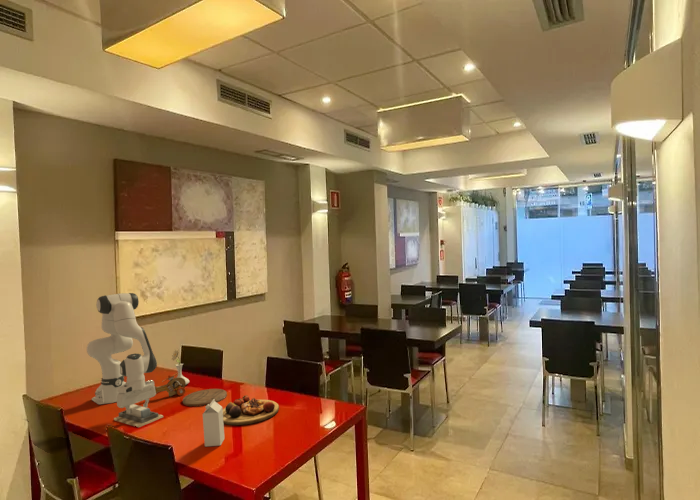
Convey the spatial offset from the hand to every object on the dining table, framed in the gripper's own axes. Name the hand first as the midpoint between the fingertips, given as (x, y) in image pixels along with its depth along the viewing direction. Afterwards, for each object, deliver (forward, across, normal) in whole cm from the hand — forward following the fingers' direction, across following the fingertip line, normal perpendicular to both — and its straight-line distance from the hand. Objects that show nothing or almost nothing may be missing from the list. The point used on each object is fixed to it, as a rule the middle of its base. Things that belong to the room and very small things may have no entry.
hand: (137, 410), depth 231 cm
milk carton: (+5, +2, +63) cm, 63 cm away
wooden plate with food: (+5, -30, +52) cm, 60 cm away
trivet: (+5, -36, +10) cm, 38 cm away
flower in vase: (+5, -46, -27) cm, 54 cm away
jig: (+5, 0, 0) cm, 5 cm away
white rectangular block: (+4, 0, 0) cm, 4 cm away
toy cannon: (+5, -30, -15) cm, 34 cm away
